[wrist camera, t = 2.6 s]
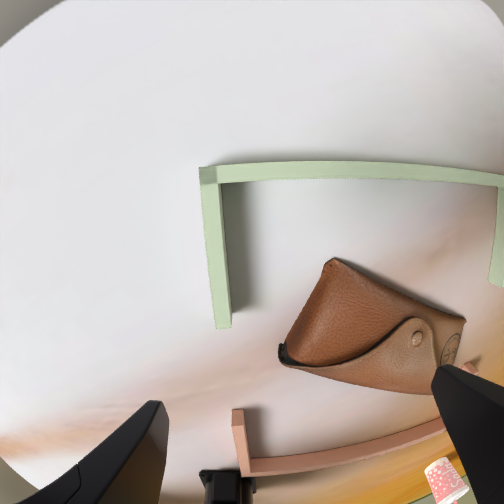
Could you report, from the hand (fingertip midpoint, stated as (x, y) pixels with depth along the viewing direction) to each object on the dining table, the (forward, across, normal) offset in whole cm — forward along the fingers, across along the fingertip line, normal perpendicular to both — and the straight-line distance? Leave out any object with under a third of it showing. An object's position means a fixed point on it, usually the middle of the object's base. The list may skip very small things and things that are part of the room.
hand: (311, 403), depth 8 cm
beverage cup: (+12, -28, +39) cm, 50 cm away
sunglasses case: (+13, -10, +7) cm, 17 cm away
